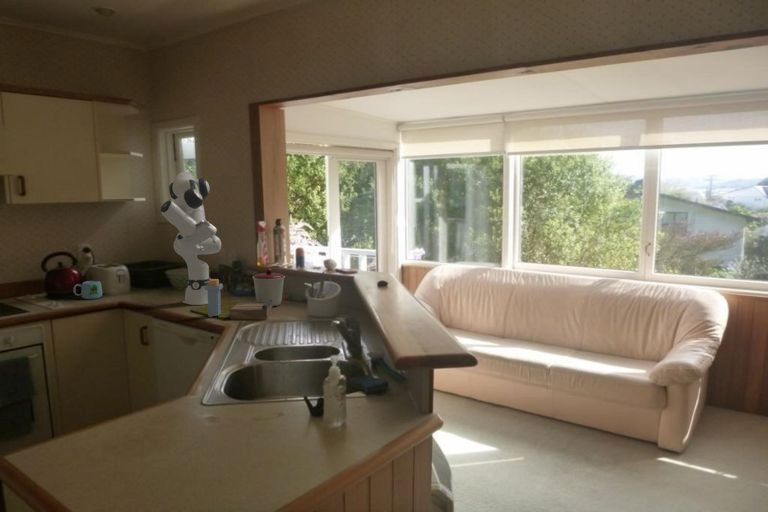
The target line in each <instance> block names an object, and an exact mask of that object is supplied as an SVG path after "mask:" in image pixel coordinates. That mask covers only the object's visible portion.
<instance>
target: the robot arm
mask: <svg viewBox="0 0 768 512" xmlns="http://www.w3.org/2000/svg"><path fill="white" fill-rule="evenodd" d="M210 189H211V188H210V185H209V182H208V181H207V180H206V178H203V177H202V178H201V177H200V178H199V177H198V178H194V176H193V175H192V174H191V172H188V171H181V172H179V173H178V174H177V175H176V176H175V178H174V179H173V182H171V183H170V184H169V186H168V193H169V194H168V195H169V196H170V198H171V199H173V200H170V199H169V200H167V201H165V202H164V203H163V204H162V206H161V207H160V209H159V210H160V213H161V214H162V216H163V217H164V218H165V219H166V220H167V222H169V223H170V224H171V225H173V226H175V228H176V229H177V230H178V233H177V235H176V237H175V240H174V241H173V249H174V251H175V253H176V254H178V255H179V256H181V257H182V258H183V259H184V261H185V263H186V265H187V271H188V273H187V274H188V279H187V285H188V286H187V287H186V288H185V298H184V300H183V301H182V304H187V305H191V306H194V305H195V306H198V305H199V306H200V305H201V306H202V305H208V290H205V286H206V285H207V284H209V280H210V279H212V278H211V277H210V269H209V268H210V267H209V264H208V263H207V262H205V261H204V260H201V259H199V257H198V255H199V256H200V255H212V254H218V253H219V252H220V251H221V249H222V241H221V239H220V237H219V236H217V235H216V233H217V232H218V230H217V227H215V226H214V225H213V224H211V223H210V222H209V221H207V220H206V215H205V214H206V211H205V207H204V204H203V203H204V200H205V199H206V198H207V197H208V195H209V194H210Z"/></svg>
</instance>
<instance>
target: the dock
mask: <svg viewBox="0 0 768 512" xmlns="http://www.w3.org/2000/svg"><path fill="white" fill-rule="evenodd" d="M272 313H273V307H272V300H267V301H266V302H265V303H257V302H244V303H243V302H237V303H236V304H235V305H234V306H233V307H231V308H230V309H229V316H230V320H268V318H270V316H271V314H272Z"/></svg>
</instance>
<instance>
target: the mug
mask: <svg viewBox="0 0 768 512" xmlns="http://www.w3.org/2000/svg"><path fill="white" fill-rule="evenodd" d="M77 287H80V288H81V292H80V293H78V292H77V291H76V288H77ZM72 291H73V293H74V295H75V296H79V297H80V296H81V298H82V299H84V300H95V299H100V298H101V297H102V296H103V287H102V282H101V281H99V280H86V281H84V282H82V283H80V284H78V283H77V284H75V285H74V286H73V289H72Z"/></svg>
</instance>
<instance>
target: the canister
mask: <svg viewBox="0 0 768 512" xmlns="http://www.w3.org/2000/svg"><path fill="white" fill-rule="evenodd" d="M285 278H286V276H285V275H284V274H283V273H278V272H273V269H271V268H266V269H265V272H263V273H256V274H255V275H254V276H252V279H253V284H254V291H255V299H256V303H265V302H266V301H267V300H272V308H273V307H277V306H279V305H281V303H282V299H283V292H284V280H285Z"/></svg>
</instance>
